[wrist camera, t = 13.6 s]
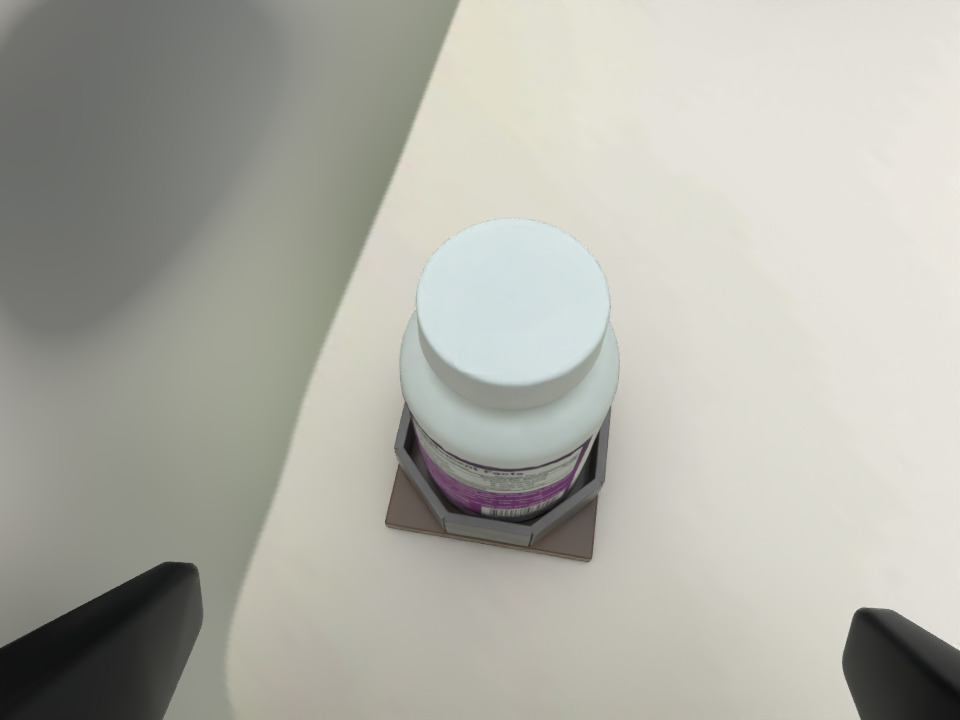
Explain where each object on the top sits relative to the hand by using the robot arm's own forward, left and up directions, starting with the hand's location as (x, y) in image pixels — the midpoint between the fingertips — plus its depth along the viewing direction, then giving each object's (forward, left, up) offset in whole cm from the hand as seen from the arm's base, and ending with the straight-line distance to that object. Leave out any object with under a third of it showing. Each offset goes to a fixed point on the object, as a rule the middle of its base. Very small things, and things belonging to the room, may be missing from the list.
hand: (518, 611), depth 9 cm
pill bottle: (+4, +5, -11) cm, 13 cm away
